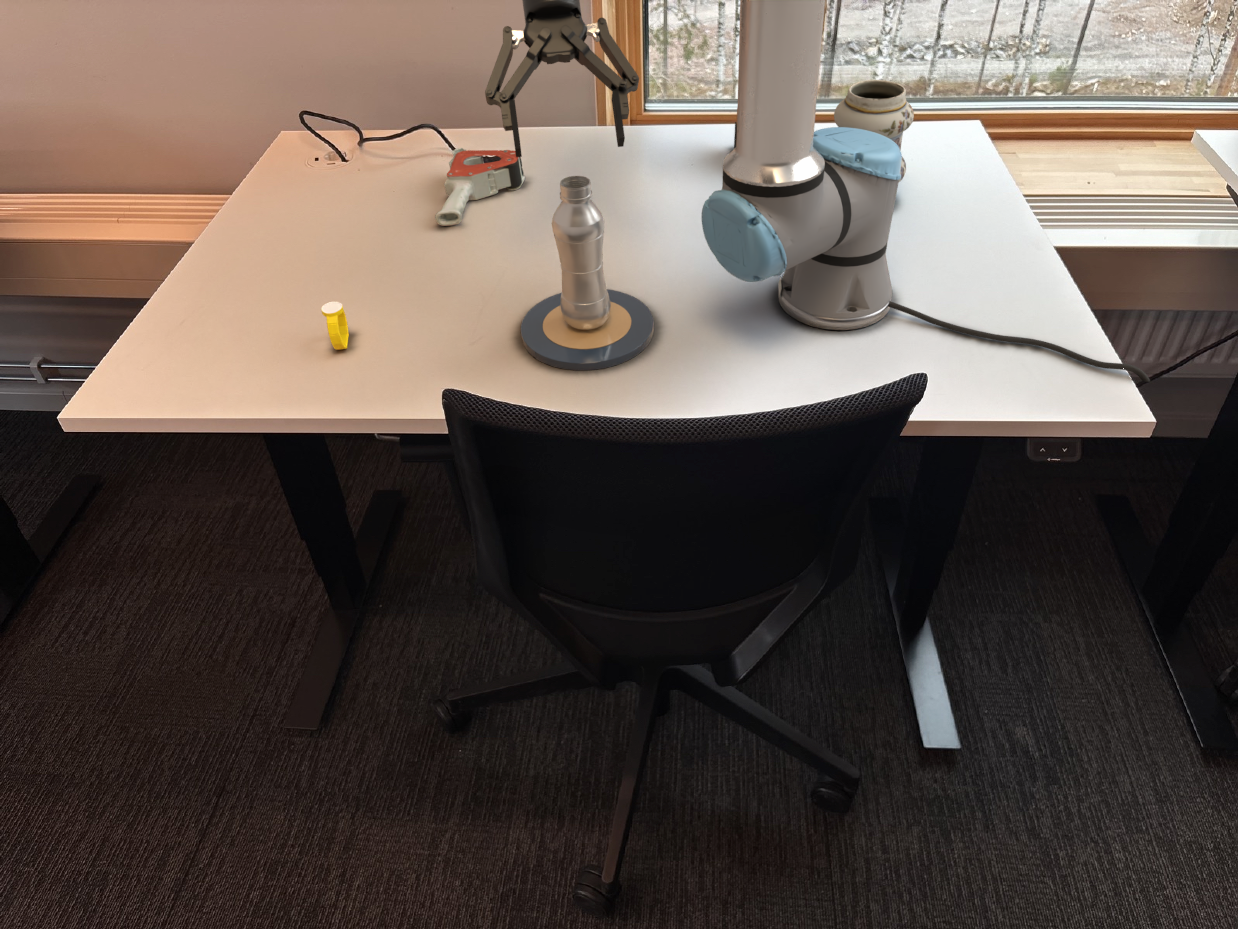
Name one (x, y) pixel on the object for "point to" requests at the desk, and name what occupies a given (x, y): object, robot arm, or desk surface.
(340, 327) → the watch
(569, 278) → the silver metal bottle
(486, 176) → the tape dispenser
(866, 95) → the apothecary jar
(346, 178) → the desk surface
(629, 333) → the plate
